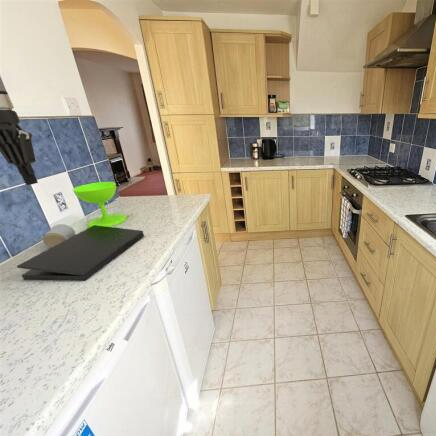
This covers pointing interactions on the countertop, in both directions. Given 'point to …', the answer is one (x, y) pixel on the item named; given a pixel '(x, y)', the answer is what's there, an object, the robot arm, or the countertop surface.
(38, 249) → the countertop surface
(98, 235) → the laptop screen
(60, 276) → the laptop
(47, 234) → the ceramic mug
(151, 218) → the countertop surface
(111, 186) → the wineglass
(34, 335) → the countertop surface
